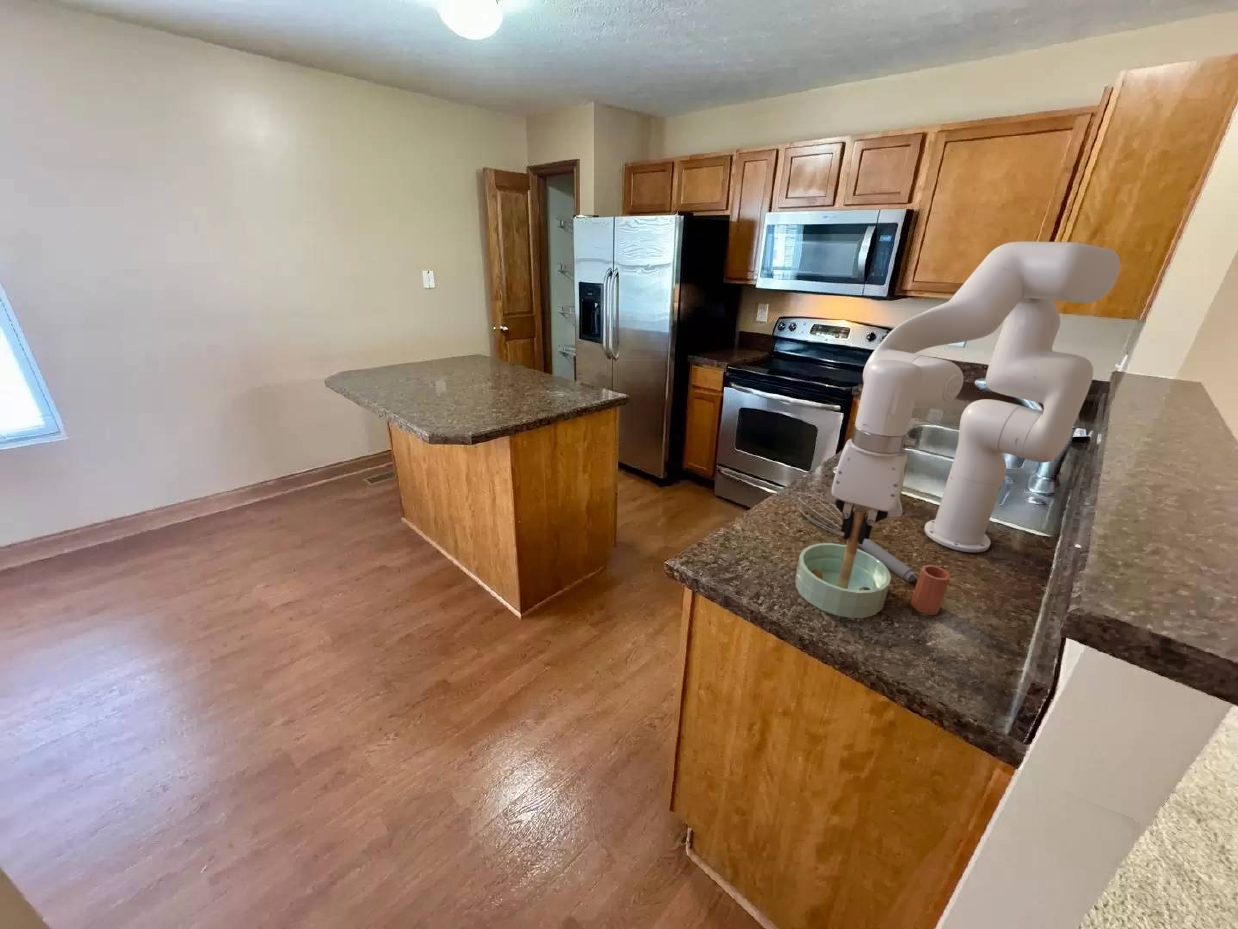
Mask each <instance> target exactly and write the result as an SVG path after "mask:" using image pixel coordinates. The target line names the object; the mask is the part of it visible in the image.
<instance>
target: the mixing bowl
mask: <svg viewBox="0 0 1238 929" xmlns="http://www.w3.org/2000/svg"><path fill="white" fill-rule="evenodd" d="M846 545H847V544H840V543H834V542H833V543H832V542H820V543H816V544H810V545H808V546H807V547H805V548H804V549H802V551H801V552H800V554H799V557H798V562H797V566H796V572H795V578H794V583H795V589H796V590H797V592H798V593H799V595H800V596H801V597H802V598H803V599H804V600H805V601H807V602H808V603H809V604H811V605H812V606H813V607H816V608H817V609H819V610H820V611H823V612H826V613H828V614H832V615H834V616H837V617H844V618H849V619H865V618H868V617H872V616H875V615H877V614H879V613H880V612H881V611H882V610H883V608H884V605H885V603H886V602H885V601H886V597H887V594H888V590H889V588H890V584H891V580H892V575H891V573H890V570H889V569H888V568H886V566H885V565H884V564H883V563H882V562H881V561H879V560H878V559H876V558H875V557H874V556H872V555H870V554H868V553H866V552H865V551H864V550H862V549H861V548H857V552H856V556H855V561H854V565H853V569H852V573H851V577H850V581H849V585H848V589H845V588H841V587H838V586H837V583H838V579H839V575H840V571H841V567H842V562H843V558H844V554H845V550H846ZM814 569H818V570H820V571H821V572H822V573H823V579H820V578H818V577H816V576H815V575H814V574H813V573H812V572H811V571H812V570H814ZM862 587H868V588H870V589H871V590H859V589H860V588H862Z"/></svg>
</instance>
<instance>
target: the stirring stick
mask: <svg viewBox="0 0 1238 929" xmlns="http://www.w3.org/2000/svg"><path fill="white" fill-rule="evenodd" d="M853 512H854V516H853V521H852V525H851V530H850V534H849V538H848V540H846V541H847V542H846V544H845V545H846V550H845V554H844V558H843V562H842V567H841V571H840V575H839V579H838V583H837V586H838V587H841V588H845V589H848V585H849V581H850V577H851V573H852V569H853V565H854V561H855V556H856V552H857V549H859V547H858V544H859V543H858V540H859V536H860V532H861V528H862V524H863V522H864V520H865V518H866V517H867V510H866V509H864V508H862V507H856V508H855V509H854V511H853Z"/></svg>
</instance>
